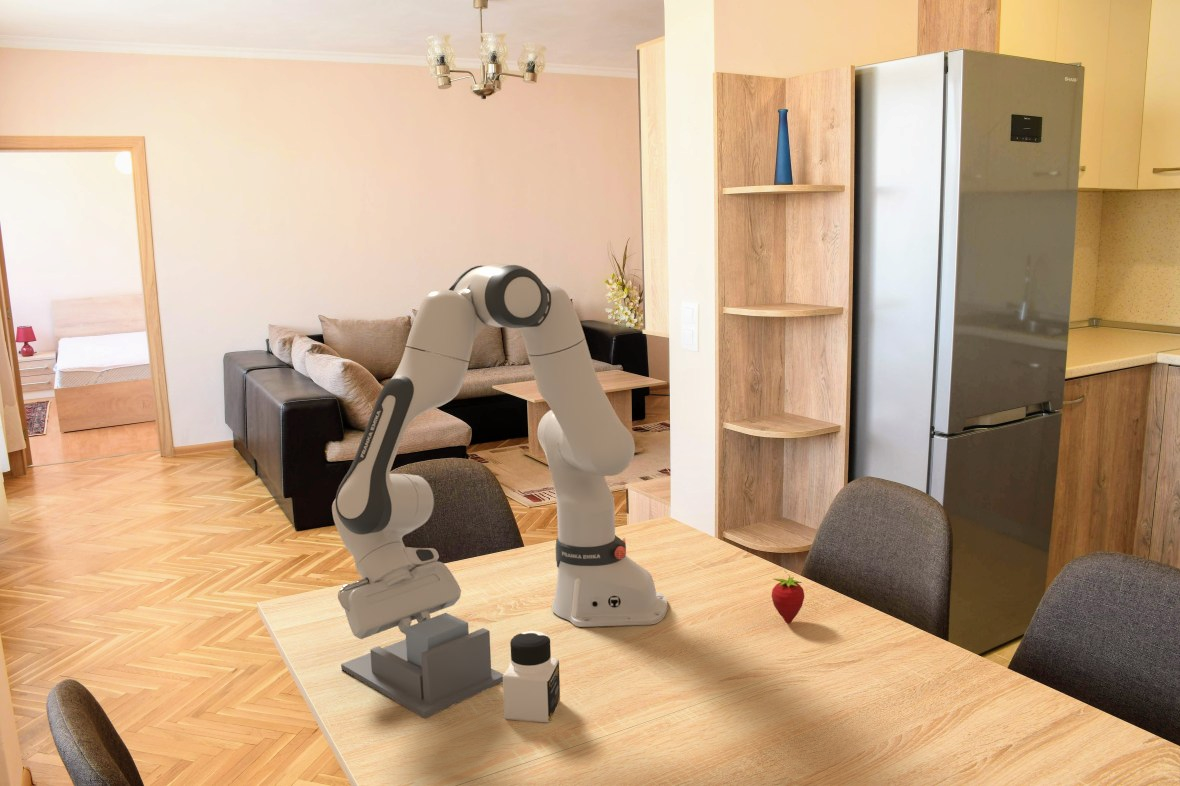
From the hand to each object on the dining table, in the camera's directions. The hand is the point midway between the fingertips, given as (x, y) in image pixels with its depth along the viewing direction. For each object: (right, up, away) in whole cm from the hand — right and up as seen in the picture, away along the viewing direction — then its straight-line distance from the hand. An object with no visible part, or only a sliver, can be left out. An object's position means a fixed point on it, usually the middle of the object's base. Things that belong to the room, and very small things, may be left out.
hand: (425, 641), depth 151 cm
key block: (+3, -5, -2) cm, 6 cm away
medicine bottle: (+18, -8, -10) cm, 22 cm away
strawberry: (+64, -2, +19) cm, 67 cm away
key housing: (-1, -6, +2) cm, 6 cm away
